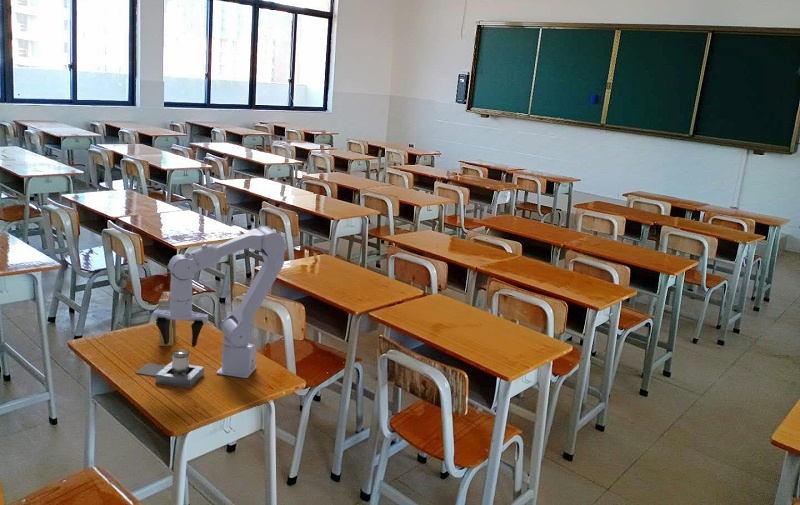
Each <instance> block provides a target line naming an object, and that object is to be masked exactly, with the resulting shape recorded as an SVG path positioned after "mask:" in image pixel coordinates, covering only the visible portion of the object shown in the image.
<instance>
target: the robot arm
mask: <svg viewBox="0 0 800 505" xmlns="http://www.w3.org/2000/svg"><path fill="white" fill-rule="evenodd" d="M286 248H287V244H286V242H285V240H284V237H283V235H282V234H280V233H278V232H276V231H274V230H273V229H272V228H270V227H269V226H266V225H261V226H259V227H257V228H252V229H250V230H248V231H247V232H245V233H242V234H241V235H237V237H234V238H231V239H229V240H227V241H225V242H222V243H221V244H218V245H213V244H210V243H209V244H206V243H204V244H201V247H199V248H196V249H194V250H192V251H185V252H184V254H181V253H179V254H176V255H173V256H172V257H171V258H170V259H169V263H168V264H167V268H168V270H169V271H170V282H169V284H170V285H169V288H170V290H169V292H170V310H159V309H156V310H154V311H153V312H152V313H153V314H152V315H153V318H152V319H153V320H156V322H155V325H156V326H157V328H158V329H159V330H160V332H161V334H162V337H163V340H164V344H165V345H167V344H168V343H169V326H170V319H172V320H176V321H185V322H192V324H191V325H190V326H191V335H192V338H191V347H192V348H195V347H196V346H197V344H198V338H199V335H200V333H201V330H202V328H203V326H204V324H207V323H208V321H209V314H208V313H207V314H206V313H201V312H197V311H193V276H194V275H195V274H196V272H197V273H198V272H199V271H202V270H204V269H207V268H210V267H212V266H215V265H216V264H219V263H220V260H221V259H222V258H224V257H227V256H229V255H233V254H236V253H237V252H240V251H243V250H247V249H252V250H254V251H255V250H256V251H259V252H260V254H261V256H262V258H263V263H262V265H261V266H260V268H259V269H258V272H257V274H256V275H255V277H254V279H253V281H252V282H251V284H250V286H249V288H248V289H247V292H246V293H245V295H244V296H243V298H242V299H241V302H240V304H239V305H238V307H237V308H235V309H233V310H232V311H231V312H230V314H229V315H228V316H227V317H226V318H224V319H223V320H222V322H221V324H220V331H221V332H222V334H223V335H224V336H223V339H222V345H221V346H222V347H221V350H222V352H221V367H220V368H219V369H217V371H216V374H217V375H223V376H229V377H237V378H243V379H247V378H249V377H250V376H251V374H253V373H254V371H256V369H257V347H256V345H255V344H252V343H250V340H251V337H252V331H253V328H254V326H255V320H254V319H255V316H256V314H257V312H258V311H259V310H260V308H261V306H262V304H263V302H264V300H265V299H266V298H267V296H268V293H269V292H270V289H271V288H272V286H273V285H274V282H275V281H276V279H277V277H278V275H279V274H280V272H281V271H282V268H283V267H284V264H285V249H286Z"/></svg>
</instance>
